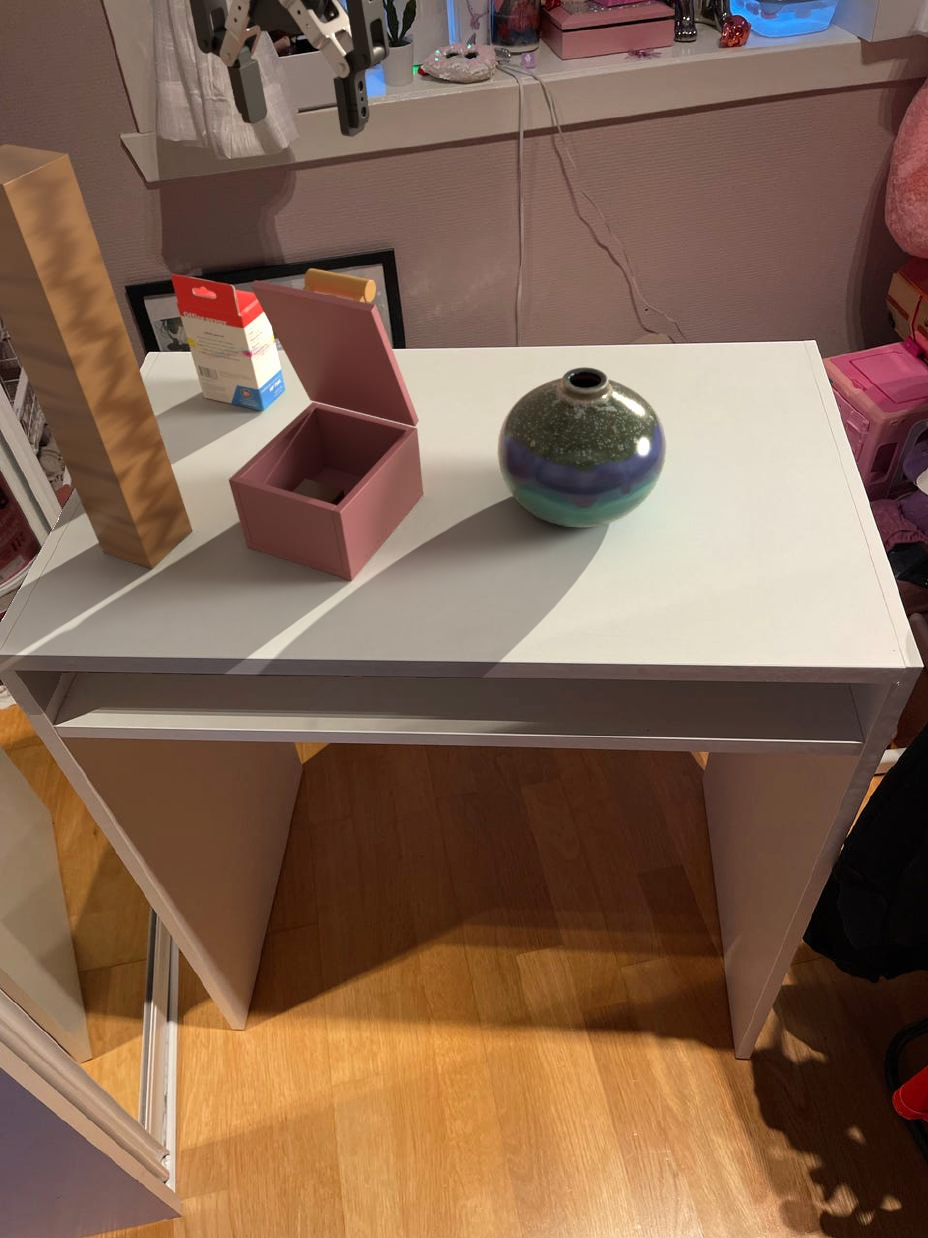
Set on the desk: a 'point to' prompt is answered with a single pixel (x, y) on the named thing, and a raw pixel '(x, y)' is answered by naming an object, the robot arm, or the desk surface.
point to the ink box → (229, 343)
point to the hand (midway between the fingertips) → (304, 126)
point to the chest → (337, 456)
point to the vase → (581, 449)
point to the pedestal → (83, 359)
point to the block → (320, 491)
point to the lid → (338, 344)
